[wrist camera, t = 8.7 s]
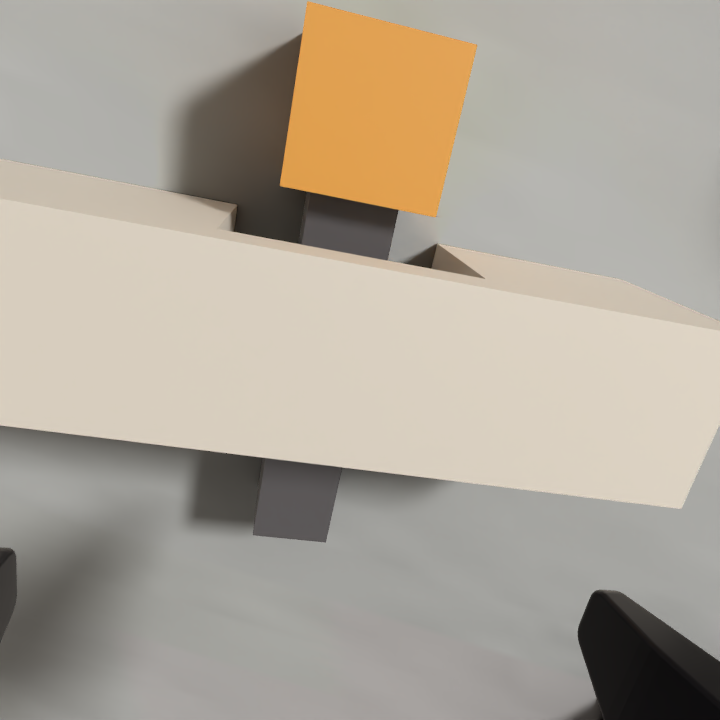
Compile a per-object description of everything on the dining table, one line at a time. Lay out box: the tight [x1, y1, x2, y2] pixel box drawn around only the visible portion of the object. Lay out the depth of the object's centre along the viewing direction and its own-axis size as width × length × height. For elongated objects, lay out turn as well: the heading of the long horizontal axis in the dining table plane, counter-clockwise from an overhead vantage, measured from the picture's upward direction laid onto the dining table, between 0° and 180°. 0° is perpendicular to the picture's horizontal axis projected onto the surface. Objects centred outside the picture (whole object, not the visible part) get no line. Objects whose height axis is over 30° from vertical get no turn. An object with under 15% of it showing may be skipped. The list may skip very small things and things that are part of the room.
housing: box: [0, 159, 720, 509], centre depth 16 cm, size 5×20×6 cm, turn 78°
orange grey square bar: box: [253, 1, 477, 542], centre depth 18 cm, size 15×4×4 cm, turn 168°
